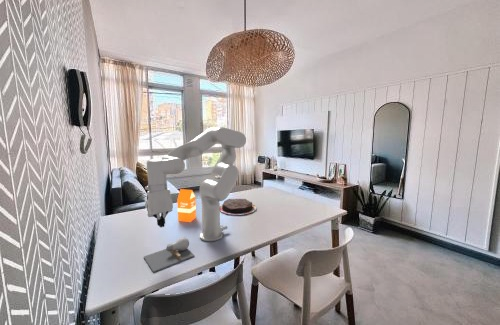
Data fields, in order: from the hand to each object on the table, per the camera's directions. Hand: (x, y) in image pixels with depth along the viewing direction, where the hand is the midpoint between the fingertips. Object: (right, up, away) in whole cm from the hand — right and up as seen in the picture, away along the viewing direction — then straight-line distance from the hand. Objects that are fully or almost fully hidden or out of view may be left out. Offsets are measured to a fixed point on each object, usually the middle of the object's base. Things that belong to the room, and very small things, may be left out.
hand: (161, 226), depth 98 cm
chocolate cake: (+31, -6, +63) cm, 71 cm away
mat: (+3, -14, +1) cm, 15 cm away
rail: (+5, -14, +3) cm, 15 cm away
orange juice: (-1, -9, +44) cm, 45 cm away
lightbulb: (+2, -10, 0) cm, 11 cm away
